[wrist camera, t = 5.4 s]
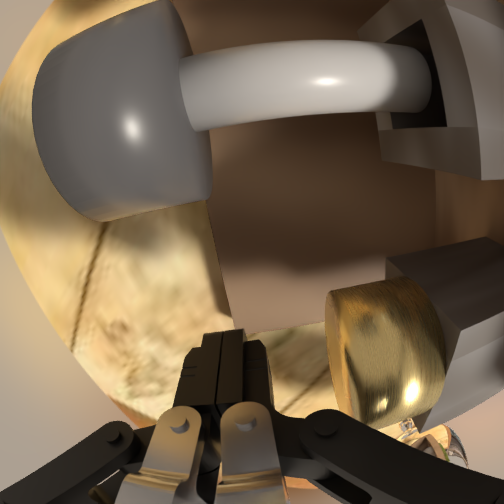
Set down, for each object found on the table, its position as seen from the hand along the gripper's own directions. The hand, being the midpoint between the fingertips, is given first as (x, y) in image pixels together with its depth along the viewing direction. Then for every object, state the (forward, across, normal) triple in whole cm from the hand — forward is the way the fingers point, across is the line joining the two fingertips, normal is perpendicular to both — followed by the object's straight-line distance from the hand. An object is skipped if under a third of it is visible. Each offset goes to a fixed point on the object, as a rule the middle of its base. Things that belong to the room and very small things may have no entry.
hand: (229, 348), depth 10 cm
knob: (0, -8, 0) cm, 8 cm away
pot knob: (0, -2, -8) cm, 9 cm away
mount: (+6, -7, -8) cm, 12 cm away
